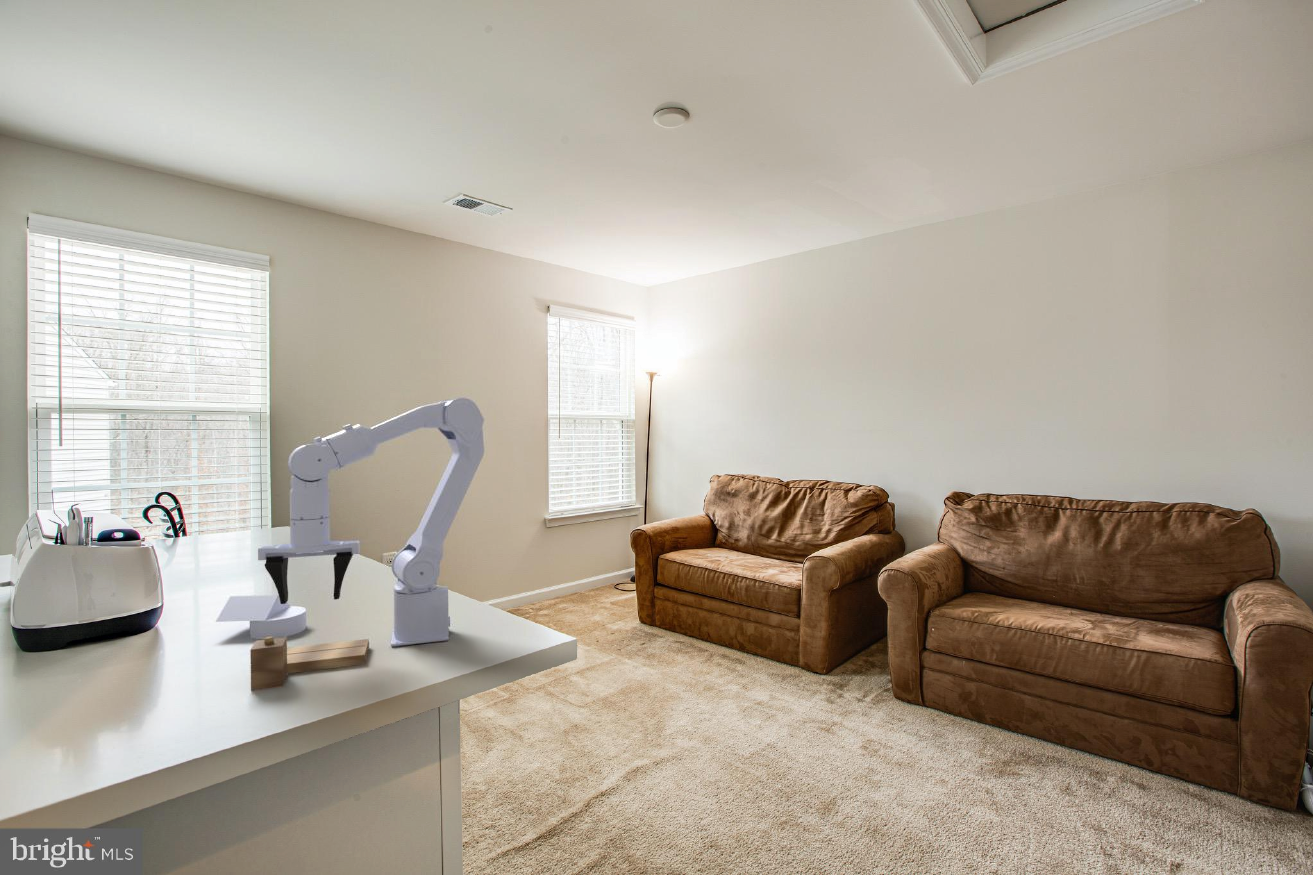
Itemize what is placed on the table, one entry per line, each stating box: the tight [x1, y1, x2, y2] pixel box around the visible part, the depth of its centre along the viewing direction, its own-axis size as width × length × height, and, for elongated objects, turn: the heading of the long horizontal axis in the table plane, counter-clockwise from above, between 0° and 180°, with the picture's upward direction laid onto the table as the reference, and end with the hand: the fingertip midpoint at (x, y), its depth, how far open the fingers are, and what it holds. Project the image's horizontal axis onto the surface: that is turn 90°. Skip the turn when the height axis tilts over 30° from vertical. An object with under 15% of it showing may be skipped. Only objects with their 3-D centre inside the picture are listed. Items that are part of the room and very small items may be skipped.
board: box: [287, 638, 370, 674], centre depth 101 cm, size 14×8×2 cm, turn 110°
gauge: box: [250, 636, 288, 692], centre depth 94 cm, size 4×9×7 cm, turn 23°
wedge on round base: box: [215, 594, 307, 640], centre depth 116 cm, size 9×7×13 cm
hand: (310, 600), depth 103 cm, fingers open, 7 cm apart
